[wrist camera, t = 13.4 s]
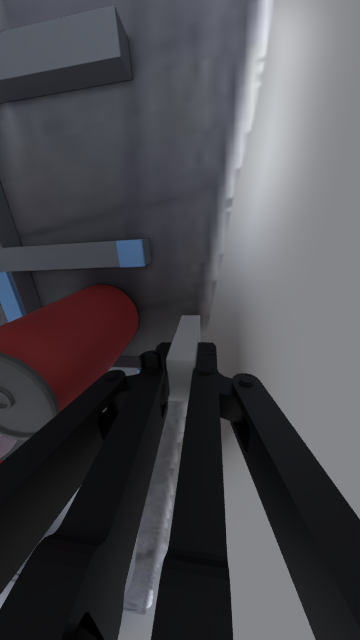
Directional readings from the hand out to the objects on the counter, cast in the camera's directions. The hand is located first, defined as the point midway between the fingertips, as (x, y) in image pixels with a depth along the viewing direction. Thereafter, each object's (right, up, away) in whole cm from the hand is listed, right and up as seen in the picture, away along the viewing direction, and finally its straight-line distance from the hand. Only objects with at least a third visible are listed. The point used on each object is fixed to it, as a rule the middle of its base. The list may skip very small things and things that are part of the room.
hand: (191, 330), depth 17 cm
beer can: (-8, +1, +4) cm, 9 cm away
